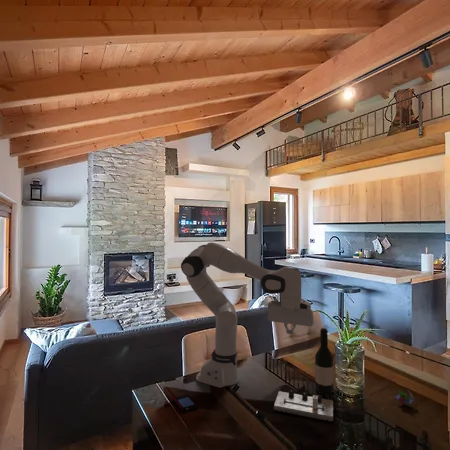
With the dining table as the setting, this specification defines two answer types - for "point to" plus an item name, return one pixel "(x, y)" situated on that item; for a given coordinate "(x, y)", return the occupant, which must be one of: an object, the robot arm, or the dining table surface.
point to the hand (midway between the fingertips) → (289, 333)
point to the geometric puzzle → (405, 398)
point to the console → (304, 405)
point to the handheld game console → (184, 402)
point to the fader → (315, 401)
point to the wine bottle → (324, 365)
